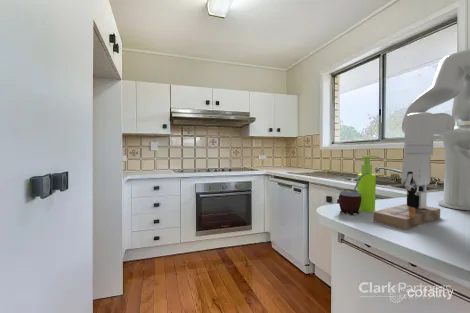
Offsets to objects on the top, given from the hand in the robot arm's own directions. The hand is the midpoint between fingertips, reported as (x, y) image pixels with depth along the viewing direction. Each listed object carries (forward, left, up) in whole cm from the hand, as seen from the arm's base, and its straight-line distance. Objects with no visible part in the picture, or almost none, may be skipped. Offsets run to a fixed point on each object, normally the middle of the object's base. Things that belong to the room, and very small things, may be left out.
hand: (416, 205), depth 79 cm
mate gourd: (+15, -13, -4) cm, 20 cm away
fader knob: (0, 0, 0) cm, 0 cm away
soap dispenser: (+6, -13, -4) cm, 15 cm away
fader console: (+6, 0, -4) cm, 7 cm away
